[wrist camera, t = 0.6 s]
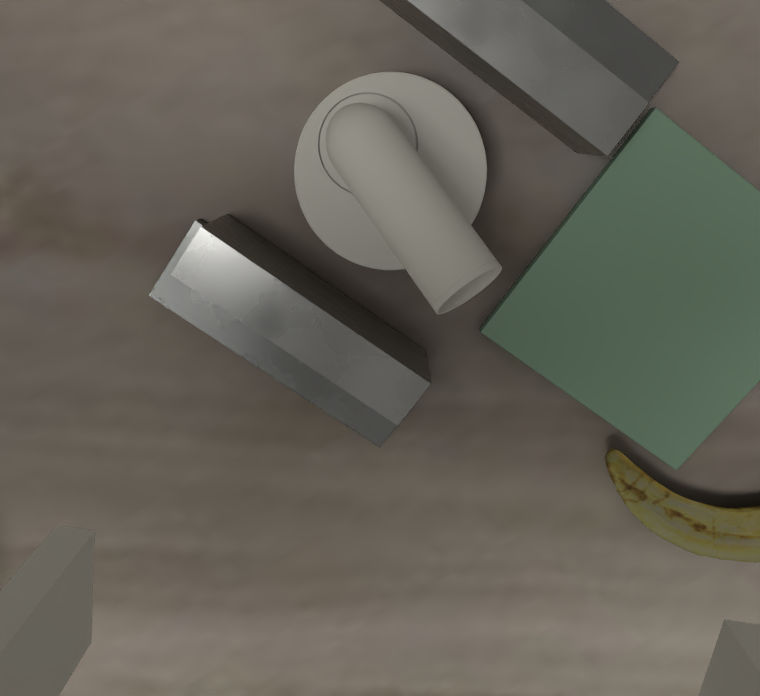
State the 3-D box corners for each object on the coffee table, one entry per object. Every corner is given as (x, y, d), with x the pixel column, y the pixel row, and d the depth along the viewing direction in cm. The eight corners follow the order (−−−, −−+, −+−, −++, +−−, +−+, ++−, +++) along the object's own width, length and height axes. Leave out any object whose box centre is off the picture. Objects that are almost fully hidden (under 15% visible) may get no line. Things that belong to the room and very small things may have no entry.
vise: (153, 291, 36) (116, 316, 31) (423, -141, 30) (428, -193, 25) (380, 441, 38) (377, 485, 33) (672, 63, 32) (720, 51, 27)
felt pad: (479, 329, 36) (480, 332, 35) (651, 108, 33) (655, 107, 32) (672, 465, 38) (676, 470, 37) (852, 269, 35) (860, 272, 34)
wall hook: (389, 378, 27) (215, 162, 25) (391, 316, 36) (264, 154, 34) (582, 240, 25) (413, -5, 23) (532, 212, 34) (408, 35, 32)
